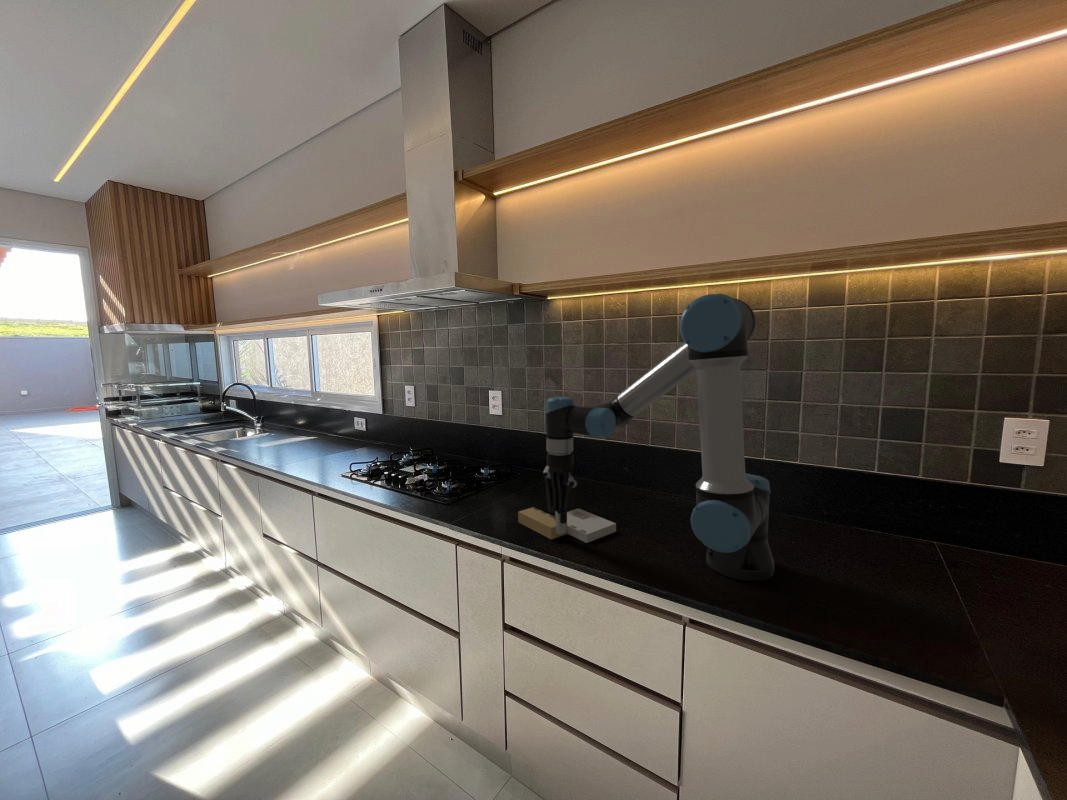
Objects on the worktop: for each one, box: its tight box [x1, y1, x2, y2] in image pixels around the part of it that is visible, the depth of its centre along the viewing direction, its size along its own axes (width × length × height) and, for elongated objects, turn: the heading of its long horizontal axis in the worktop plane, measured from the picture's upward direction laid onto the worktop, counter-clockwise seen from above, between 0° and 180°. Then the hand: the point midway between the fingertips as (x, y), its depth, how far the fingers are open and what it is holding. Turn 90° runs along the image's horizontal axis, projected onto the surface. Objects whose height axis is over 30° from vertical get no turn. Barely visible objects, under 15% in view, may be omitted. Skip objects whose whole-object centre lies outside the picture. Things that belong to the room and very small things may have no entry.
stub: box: [517, 506, 568, 540], centre depth 131 cm, size 16×6×4 cm, turn 38°
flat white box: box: [553, 508, 617, 544], centre depth 131 cm, size 16×12×3 cm
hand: (560, 532), depth 125 cm, fingers closed
